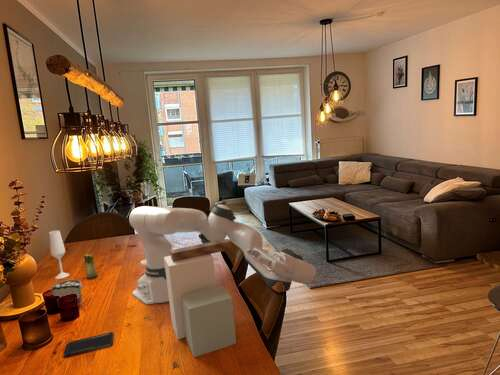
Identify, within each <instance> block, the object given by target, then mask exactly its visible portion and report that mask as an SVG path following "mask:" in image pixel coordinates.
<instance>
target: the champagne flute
mask: <svg viewBox="0 0 500 375" xmlns="http://www.w3.org/2000/svg"><path fill="white" fill-rule="evenodd" d="M48 233H49V248H50V251H49V252H50V255H51V256H52V257H53V258H55V259H56V260H58V267H59V271H60V272H59V273H58V274H57V275H56V276H55V277H54V278H55V279H56V280H57V279H58V280H59V279H65V278H66V277H69V276H70V273H68V272H64V270H63V265H62V260H61V259H62V258H63V256H64V255H65V253H66V249H65V245H64V240H63V238H62V234H61V231H60V230H52V231H51V230H50V231H49V232H48Z"/></svg>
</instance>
